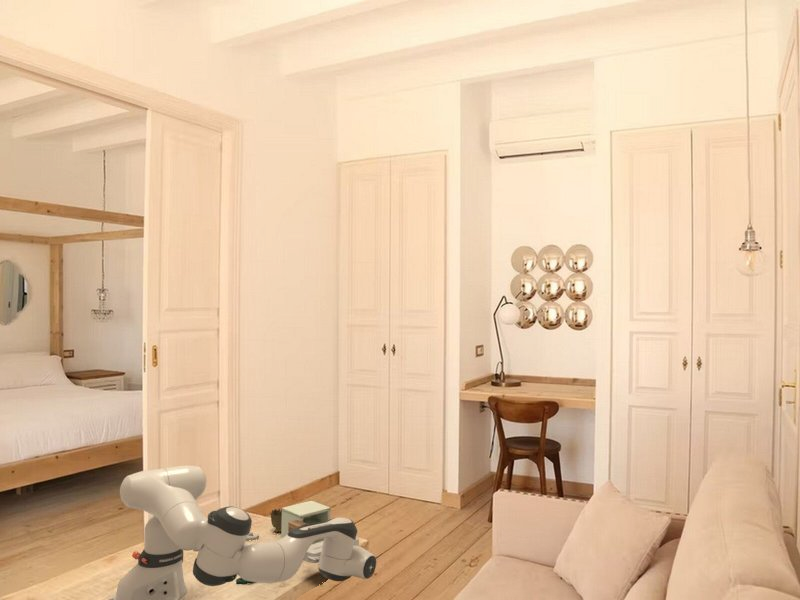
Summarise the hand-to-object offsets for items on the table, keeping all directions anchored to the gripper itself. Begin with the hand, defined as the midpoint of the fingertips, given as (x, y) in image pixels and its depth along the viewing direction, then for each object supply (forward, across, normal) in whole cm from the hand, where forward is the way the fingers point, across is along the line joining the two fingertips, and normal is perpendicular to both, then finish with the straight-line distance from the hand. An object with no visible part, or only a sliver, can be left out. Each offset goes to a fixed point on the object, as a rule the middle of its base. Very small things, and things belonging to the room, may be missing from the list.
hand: (314, 542), depth 226 cm
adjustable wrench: (+38, -12, -8) cm, 41 cm away
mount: (+3, -22, -8) cm, 24 cm away
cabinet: (+19, +10, -8) cm, 23 cm away
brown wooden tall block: (+10, 0, -8) cm, 12 cm away
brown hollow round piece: (+35, +10, -8) cm, 37 cm away
